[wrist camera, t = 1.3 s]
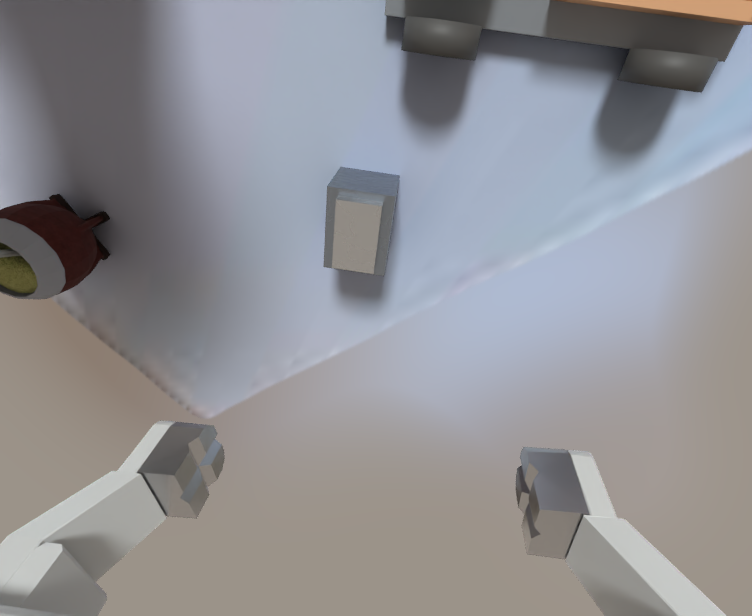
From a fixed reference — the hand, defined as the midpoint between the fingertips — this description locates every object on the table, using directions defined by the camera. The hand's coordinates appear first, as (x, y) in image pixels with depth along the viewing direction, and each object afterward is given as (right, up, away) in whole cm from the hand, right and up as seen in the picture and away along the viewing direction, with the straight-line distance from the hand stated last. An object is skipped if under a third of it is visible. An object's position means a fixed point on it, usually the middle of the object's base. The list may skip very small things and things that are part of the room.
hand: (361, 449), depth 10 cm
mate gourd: (-26, +12, +25) cm, 37 cm away
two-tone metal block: (0, +12, +21) cm, 24 cm away
